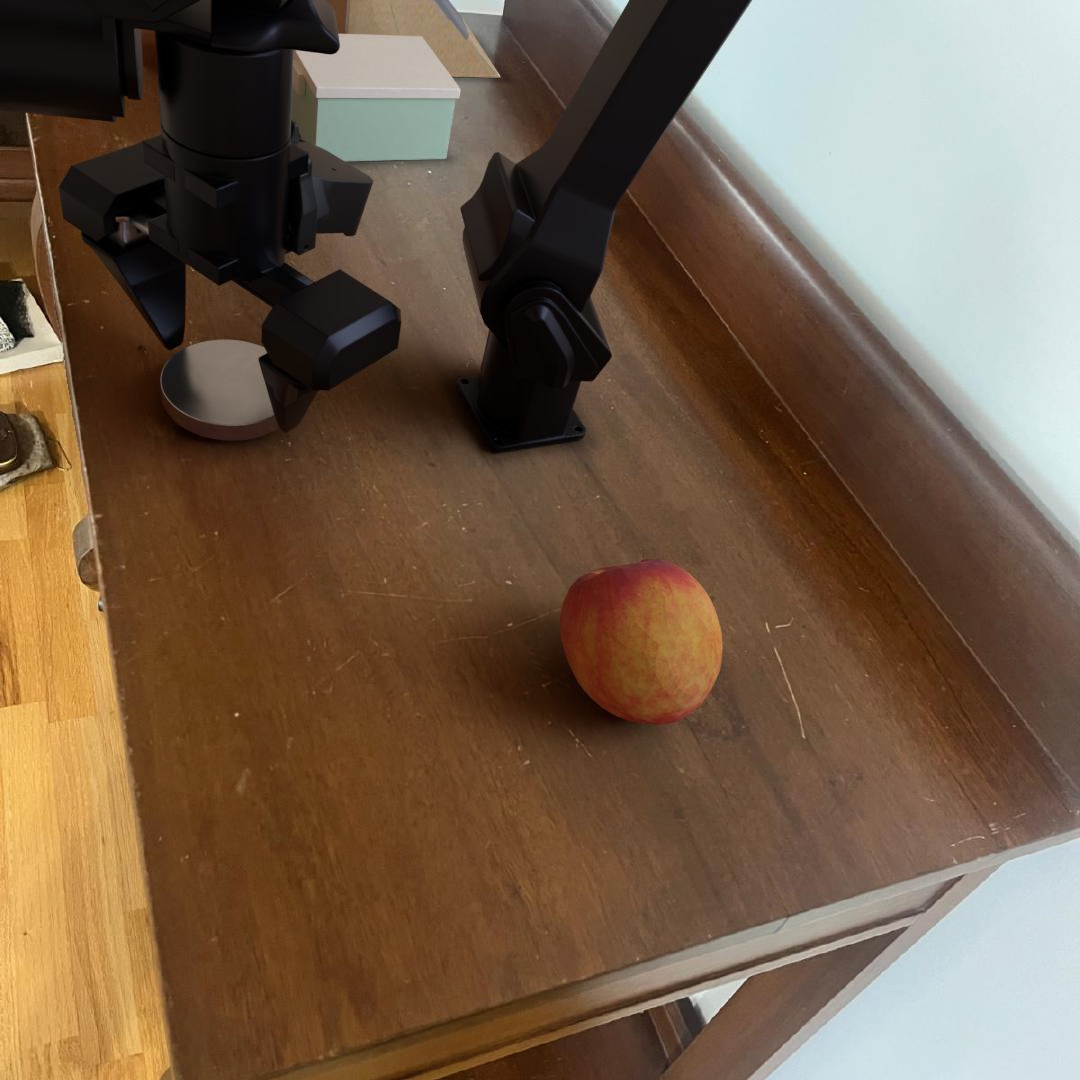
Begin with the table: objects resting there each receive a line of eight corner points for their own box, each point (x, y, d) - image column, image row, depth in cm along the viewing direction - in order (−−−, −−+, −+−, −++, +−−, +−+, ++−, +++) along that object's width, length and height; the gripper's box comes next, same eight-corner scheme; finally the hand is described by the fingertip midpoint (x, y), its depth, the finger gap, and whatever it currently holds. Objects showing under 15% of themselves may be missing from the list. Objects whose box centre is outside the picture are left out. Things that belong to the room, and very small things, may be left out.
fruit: (674, 617, 55) (725, 520, 49) (713, 749, 50) (775, 657, 44) (535, 617, 53) (571, 515, 47) (561, 754, 48) (605, 659, 42)
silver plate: (310, 438, 58) (312, 415, 57) (177, 457, 55) (175, 433, 54) (276, 356, 62) (277, 333, 61) (150, 370, 59) (148, 345, 57)
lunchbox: (417, 106, 87) (426, 36, 83) (454, 160, 82) (465, 88, 78) (277, 106, 82) (278, 31, 78) (307, 163, 77) (311, 87, 73)
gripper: (491, 168, 49) (444, 407, 60) (216, 9, 54) (221, 259, 65) (331, 245, 42) (313, 501, 53) (31, 55, 46) (73, 327, 58)
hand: (230, 386), depth 57 cm, fingers open, 9 cm apart
